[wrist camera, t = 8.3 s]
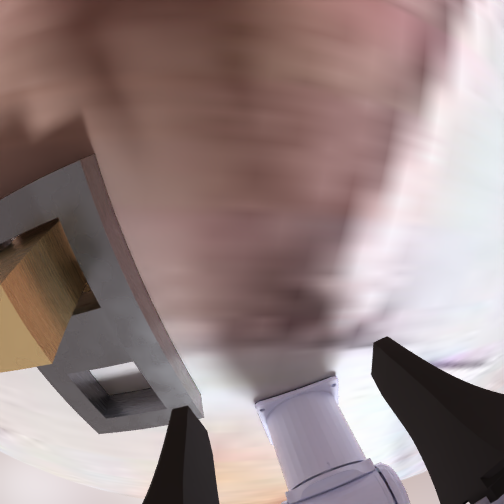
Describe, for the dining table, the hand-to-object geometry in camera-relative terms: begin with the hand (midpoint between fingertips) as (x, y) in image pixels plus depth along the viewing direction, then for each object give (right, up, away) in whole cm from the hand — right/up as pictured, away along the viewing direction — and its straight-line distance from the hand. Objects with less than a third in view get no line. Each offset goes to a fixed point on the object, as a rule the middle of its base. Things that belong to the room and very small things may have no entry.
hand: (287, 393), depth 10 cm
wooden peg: (-14, +5, +5) cm, 16 cm away
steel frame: (-12, 0, +8) cm, 15 cm away
